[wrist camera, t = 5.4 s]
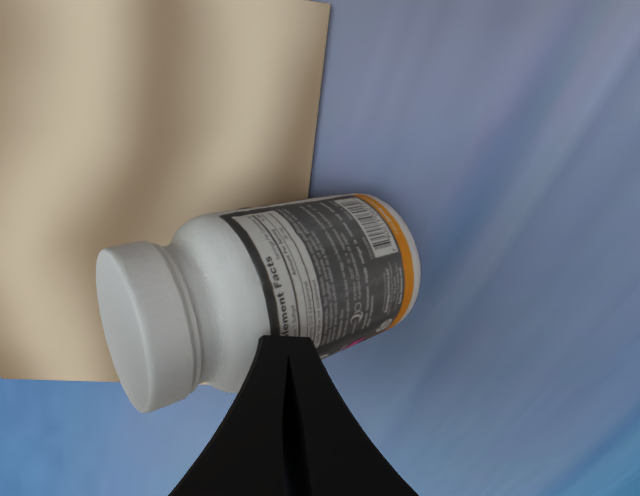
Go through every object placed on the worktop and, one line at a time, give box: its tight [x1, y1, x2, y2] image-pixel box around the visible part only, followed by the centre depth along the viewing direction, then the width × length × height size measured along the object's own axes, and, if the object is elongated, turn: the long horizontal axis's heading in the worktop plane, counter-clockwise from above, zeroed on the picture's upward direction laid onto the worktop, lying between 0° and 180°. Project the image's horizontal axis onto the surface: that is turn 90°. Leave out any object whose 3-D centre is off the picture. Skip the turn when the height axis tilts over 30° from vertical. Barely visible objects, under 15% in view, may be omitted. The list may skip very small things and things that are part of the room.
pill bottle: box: [96, 193, 421, 413], centre depth 15 cm, size 6×6×10 cm
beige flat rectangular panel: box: [0, 0, 331, 385], centre depth 18 cm, size 14×18×1 cm
